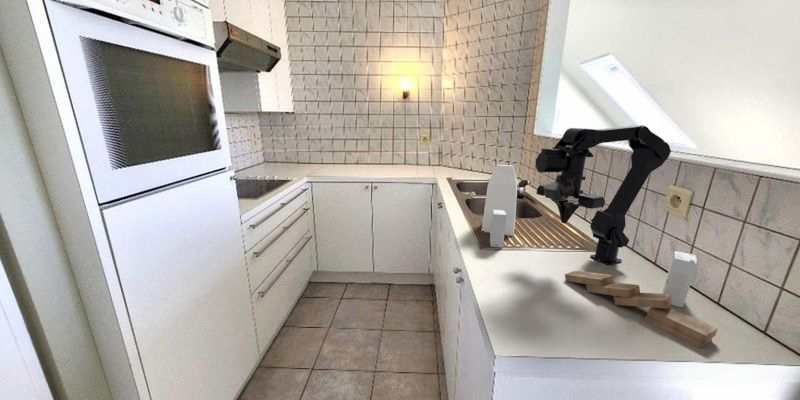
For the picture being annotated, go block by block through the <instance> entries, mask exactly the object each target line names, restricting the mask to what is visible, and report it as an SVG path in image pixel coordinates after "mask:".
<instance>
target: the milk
mask: <svg viewBox="0 0 800 400" xmlns="http://www.w3.org/2000/svg"><path fill="white" fill-rule="evenodd" d="M517 179H518V178H517V174H516V170H515V168H514V165H510V164H509V165H508V164H496V166H495V168H494V169H493V172H492V174H491V176H490V179H489V181H488V184H487V189H486V194H485V202H484V210H483V218H482V224H481V232H482V231H484V232H483V233H490V232H491V223H492V213H493V210H504V211H505V213H506V215H507V216H506V225H505V234H504V236H505V235H506V236H510V237H511V236H512V237H514V234H515V226H516V215H517V213H516V212H517V211H516V210H517V197H518V196H517V194H518V180H517Z"/></svg>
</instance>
